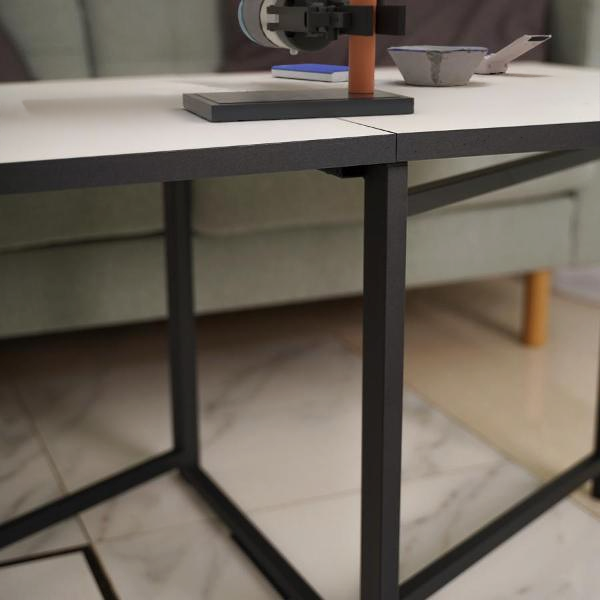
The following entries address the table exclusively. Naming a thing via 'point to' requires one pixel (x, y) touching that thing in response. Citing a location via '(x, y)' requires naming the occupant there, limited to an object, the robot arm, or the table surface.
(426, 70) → the bowl
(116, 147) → the table surface
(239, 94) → the tablet
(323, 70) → the hard drive
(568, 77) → the table surface
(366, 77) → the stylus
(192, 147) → the table surface
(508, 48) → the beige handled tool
